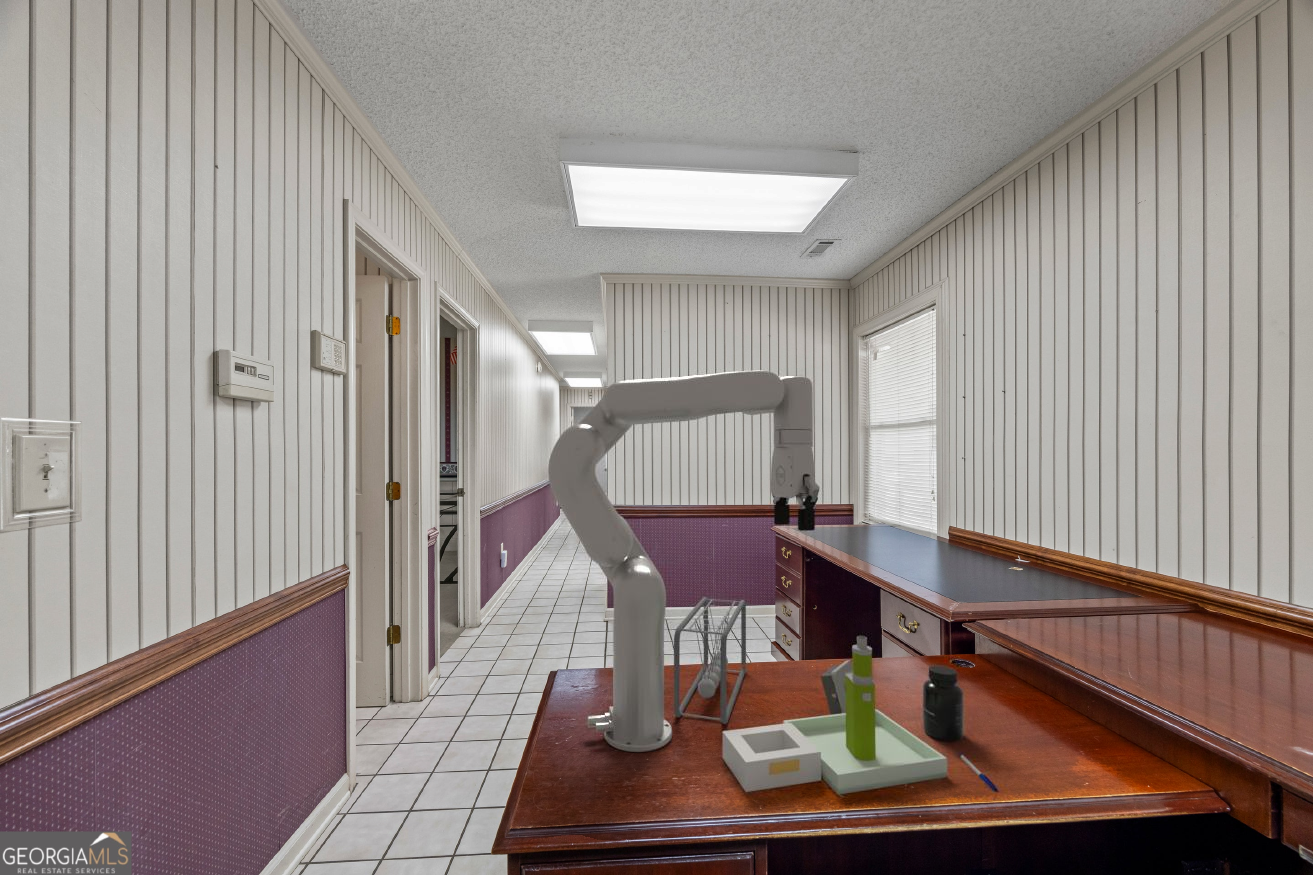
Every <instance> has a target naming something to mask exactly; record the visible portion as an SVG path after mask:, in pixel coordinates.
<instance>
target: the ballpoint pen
mask: <svg viewBox="0 0 1313 875" xmlns="http://www.w3.org/2000/svg"><path fill="white" fill-rule="evenodd" d="M958 756H959V758H960V759H962V761H964V762H965V763H966V765H967V766H968V767H969V768H971V770H972V771H974V773H976V775H977V776H978V777H979V778H980V780H982V781H983V782H984V783H985V784H986V785H987V786H988V787H989V788H990V789H991V790H992V791H994V792H998V787H997V786H996V785H995V784H994V783H993V781H992V780H990V778H989V777H988V776H986V774H983V773H982V772H981V771H980V770H979V769H978V768H977V767H976V766H975V765H974V764H973V763H972V762H971V761H970V760H968V758H967V757H966V756H964V754H962V753H960V752H959V753H958Z"/></svg>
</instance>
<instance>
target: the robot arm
mask: <svg viewBox="0 0 1313 875" xmlns="http://www.w3.org/2000/svg"><path fill="white" fill-rule="evenodd" d="M602 394H603V395H602V397H601V398H600V400H599V401H598V402H597V404H596V405H595V406H594V407H593V408H592V409H591V410H590V411H589V412H588V413H587V414H586V415H585V416H584V418H583V419H581V420H580V421H579V422H578V423H576V424H573V425H570V426H569V427H568V428H566V429H565V430H564V431H563V432H562V434H560V435H559V438H558V439H557V441H556V442H555V445H554V446H553V449H552V450H551V453H550V457H549V458H548V460H549V461H548V467H547V468H548V469H547V472H548V474H547V475H548V482H549V486H550V489H551V492H552V494H553V497H554V498H555V500H556V502H557V503H558V506H559V507H560V509H561V510H562V512H563V514H564V516H565V517H566V519H567V521H568V523H569V524H570V526H571V527H572V529H573V531H574V533H575V534H576V536H577V538H578V539H579V540H580V543H581V544H582V546H583V548H584V550H585V553H586V554H587V555H588V557H589V558H590V559H591V560H592V561H593V562H595V563H596V564H598V566H599V567H600V569H601V571H602V572H603V574H604V575H605V577H606V579H607V581H608V582H609V584H611V587H612V589H613V590H612V591H613V626H612V627H613V629H612V630H613V631H612V632H613V634H612V636H613V637H612V642H613V644H612V645H613V646H612V650H613V651H612V652H613V655H612V658H613V659H612V661H613V662H612V664H613V667H612V668H613V669H612V670H613V671H612V673H613V674H612V677H613V678H612V679H613V680H612V683H613V684H612V706H611V705H609V707H608V708H609V709H608V712H604V713H603V714H600V715H597V714H595V715H588V716H587V721H586V722H587V728H588V729H589V728H595V731H596V733H599V732H604V734H603V735H604V740H605V741H606V742H607V743H608V745H610V746H612V747H613V748H615V749H618V750H620V751H624V752H631V753H633V752H634V753H642V752H643V753H644V752H651V751H654V750H658V749H660V748H662V747H664V746H666V745H667V744H668V743H669V742H670V741H671V740H672V736H673V729H672V726H671V723H669V721H667V720H666V719H665V713H664V712H665V619H666V618H665V617H666V607H667V606H666V605H667V592H666V586H665V583H664V580H663V577H662V576H661V574H660V572H659V571H658V569H657V568H656V565H655V564H654V563H653V561H652V560H651V558H650V557H649V555H648V553H647V552H646V550H645V548H644V547H643V545H642V544H641V542H640V541H639V539H638V538H637V536H636V534H635V533H634V531H633V529H632V528H631V527H630V525H629V522H628V521H627V520H626V519H625V518H624V517H623V516H621V515H620V514H619V513H618V511H617V510H616V508H615V507H614V505H613V504H612V502H611V501H610V499H609V497H608V495H607V494H606V492H605V490H604V489H603V487H602V486H601V483H600V482H599V481H598V479H597V475H596V466H597V464H599V463H600V461H601V460H602V459H603V458H604V457H605V456H606V454H608V452H609V451H610V450H612V448H613V447H614V446H615V445H616V444H617V443H618V442H619V441H620V440H621V439H622V437H623V436H625V434H626V433H627V432H628V431H629V430H630V428H632V426H633V425H647V424H648V425H650V424H660V423H662V424H663V423H675V422H676V423H679V422H689V421H696V420H699V419H703V418H707V417H711V416H715V415H724V414H733V413H742V414H745V415H749V416H755V415H756V416H757V415H765V414H773V450H772V458H771V468H770V494H771V496H772V498H773V500H772V501H773V502H772V504H773V505H774V506H773V518H774V519H773V523H774V525H777V526H778V525H779V526H780V525H782V526H783V525H786V526H787V525H790V521H791V520H790V516H791V514H790V504H788V503H789V501H790V499H794V498H796V500H797V504H798V507H799V508H798V509H797V530H798V531H800V532H805V531H807V532H808V531H815V529H816V528H815V527H816V525H815V522H816V516H815V515H816V514H815V510H816V508H817V502H818V500H819V497H818V496H819V492H820V486H819V484H817V482H816V478H815V476H816V475H815V461H814V452H813V447H814V445H813V444H814V435H813V434H814V431H813V430H814V429H813V428H814V427H813V426H814V425H813V423H814V422H813V421H814V420H813V418H814V417H813V416H814V413H813V410H814V409H813V402H814V401H813V382H812V380H811V379H810V378H808V377H806V376H797V375H796V376H795V375H794V376H792V375H791V376H784V377H779V376H778V375H777V374H776V373H774V372H771V371H770V370H769V371H768V370H743V371H731V372H730V371H729V372H728V371H727V372H720V373H719V372H717V373H713V374H703V375H692V376H691V375H690V376H681V377H666V378H665V377H664V378H649V379H648V378H646V379H632V380H629V379H628V380H620V381H616V382H614V383H611V384H609V385H608V387H607V388H606V389H605V390H604V392H603V393H602Z"/></svg>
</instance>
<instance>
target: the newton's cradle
mask: <svg viewBox="0 0 1313 875" xmlns="http://www.w3.org/2000/svg"><path fill="white" fill-rule="evenodd" d="M713 602H719V603H720V602H722V603H723V602H724V603H732V604H731V606H729V609H728V610H725V612H726V613H725V615H721V614H720V615H719V614H715V616H717V617H718V616H719V617H723V619H722V620H719V619H718V620H717V619H713V614H712V609H711V607H714V605H711V603H713ZM735 604H738V605H737V606H736V609H735V610H734V612H733V613H732V614H731V617H730V613H731V611H732V609H733V607H734V606H735ZM746 605H747V604H746V601H745V600H744V599H741V600H740V601H739V600H727V599H716V598H715V599H714V598H708V597H706V596H703V597H702V598H701V600H700V601H698V603H697V604H696V605H695V606H694V607H693V609H692V610H691V611H690V612H689V613H688V614H687V615H686V617H685V618H684V619H683V620H682V621H681V623H680V624H679V625H678V626H677V627H676V629H675V632H674V637H673V713H674V716H675V718H677V719H680V718H681V716H684V717H685V716H686V717H692V718H699V719H706V720H713V721H720V722H721V723H722V724H723V725H727V724H728V721H729V719H730V717H731V713H732V711H733V707H734V705H735V702H736V699H737V696H738V694H739V691H740V688H741V686H742V682H743V680H744V677H745V674H746V669H747V606H746ZM702 607H703V609H702V611H701V612H700V613H699V615H698V616H697V617H696V618H695V620H694V621H693V622H692V624H691V625H690V626H689V627H688V628H686V627H687V626H688V624H690V622H691V621H692V619H693V618H694V617H695V615H696V614H697V613H698V612H699V610H700V609H701V608H702ZM719 607H720V608H723V607H724V608H726V606H725V605H724V606H721V605H719ZM713 611H714V612H716V611H717V612H720V610H719V609H718V610H717V609H713ZM709 612H710V613H709ZM740 614H741V615H740ZM739 615H740V621H741V622H740V623H741V624H740V629H741V630H740V631H741V632H740V636H741V637H740V639H741V640H740V641H741V642H740V643H741V644H740V646H741V647H740V648H741V650H740V652H741V654H740V655H741V656H740V657H741V658H740V660H741V661H740V662H741V665H745V664H746V666H741V665H740V671H739V670H731V669H727V667H728V664H729V660H728V656H727V641H728V635H729V633H730V632H731V630H732V628H733V626H734V625H735V622H736V621H737V619H738V617H739ZM701 616H702V620H703V623H701V618H700V617H701ZM709 616H710V618H711V623H712V624H710V622H709V621H710V619H709ZM729 617H730V618H729ZM697 621H698V622H699V623H698V624H699V628H700V630H697ZM714 621H716V622H717V621H718V622H720V624H719V625H717V629H716V630H715V627H716V625H714ZM702 625H703V630H702ZM694 626H695V629H692V628H693V627H694ZM711 626H713V631H711ZM682 632H689V633H696V638H697V642H698V643H697V644H698V648H699V654H700V660H701V669H700V670H699V672H698V673H697V676H696V677H695V679H694V681H693V683H692V684H691V686H690V687H689V689H688V691H687V693H686V694H685V696H684V698H683V700H682V702H681V703H680V677H681V676H680V675H681V674H680V670H681V669H680V667H681V666H680V655H681V654H680V646H681V645H680V644H681V643H680V642H681V639H680V638H681V634H682ZM698 633H699V634H701V638H702V644H703V645H702V646H703V658H702V653H701V647H700V645H701V644H700V640H699V637H698V636H699V635H698ZM709 634H710V641H711V645H712V650H713V651H712V654H711V650H710V644H709ZM712 635H714V638H715V640H714V642H713V638H712ZM715 647H716V648H715ZM711 655H712V656H711ZM709 658H710V662H709ZM726 665H727V666H726ZM703 666H707V667H703ZM727 672H729V673H737V674H739V675H738V677H737V679H736V681H735V684H734V687H733V690H732V692H731V695H730V698H729V701H728V702H727ZM719 685H720V718H719V717H714V716H713V717H711V716H705V715H698V714H690V713H684V711H685V709H686V707H687V706H688V704H689V701H690V700H691V699H692V697H693V695H694V693H695V691H696V689H697V691H698V694H699V695H700V696H701V697H702V698H704V699H709V698H712V697H713V696H714V695H715V693H716V690H717V688H718V687H719ZM727 703H728V704H727Z"/></svg>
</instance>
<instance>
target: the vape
mask: <svg viewBox="0 0 1313 875" xmlns="http://www.w3.org/2000/svg"><path fill="white" fill-rule="evenodd" d="M851 654H852V655H851V656H852V666H853V672H847V673H845V696H846V748H847V749H848V750H849V752H850V753H851V754H852V756H853V757H854V758H855V759H857V760H860V761H873V760H875V759H876V744H875V709H876V684H875V683H876V682H875V681H874V680H873V679H874V677H873V662H872V661H873V658H872V657H873V648H872V647H871V646H869V645H868V638H867V636H864V635H857V636H856V644H853V645H852V647H851Z"/></svg>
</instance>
